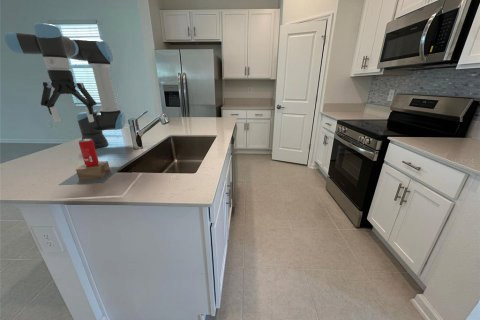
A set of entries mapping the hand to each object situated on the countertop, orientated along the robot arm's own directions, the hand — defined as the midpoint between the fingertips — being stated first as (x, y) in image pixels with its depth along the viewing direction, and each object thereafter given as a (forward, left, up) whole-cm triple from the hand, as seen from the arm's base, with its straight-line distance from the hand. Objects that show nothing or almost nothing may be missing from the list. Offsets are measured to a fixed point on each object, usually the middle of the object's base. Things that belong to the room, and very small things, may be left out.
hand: (75, 122), depth 88 cm
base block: (+4, +5, -24) cm, 25 cm away
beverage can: (+4, +5, -19) cm, 20 cm away
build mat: (+4, +4, -25) cm, 25 cm away
